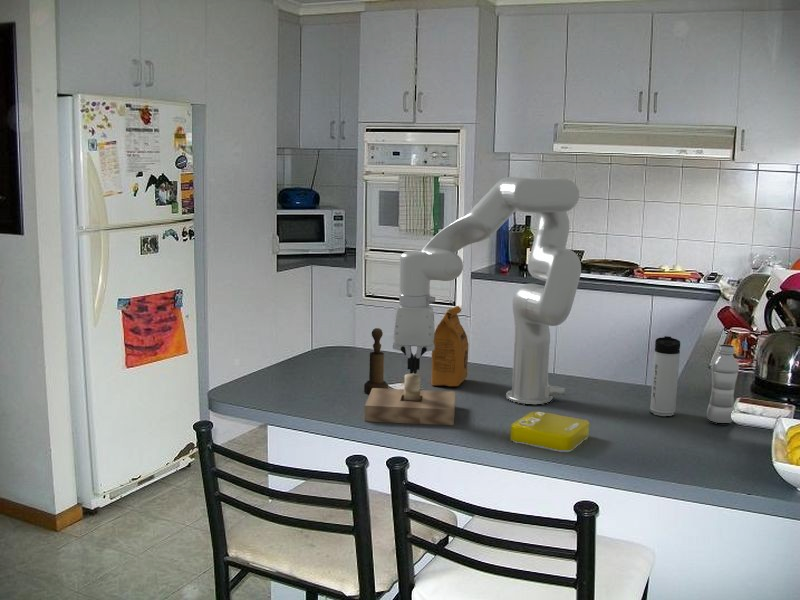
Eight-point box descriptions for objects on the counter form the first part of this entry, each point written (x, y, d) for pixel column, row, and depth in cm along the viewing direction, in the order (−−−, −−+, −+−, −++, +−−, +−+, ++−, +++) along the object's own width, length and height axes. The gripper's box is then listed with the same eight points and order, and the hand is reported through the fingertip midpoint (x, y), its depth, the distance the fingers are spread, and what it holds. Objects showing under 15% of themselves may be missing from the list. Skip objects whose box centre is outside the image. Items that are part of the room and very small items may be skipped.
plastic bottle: (700, 420, 222) (706, 344, 219) (721, 418, 225) (728, 342, 221) (717, 428, 216) (724, 349, 213) (739, 425, 219) (746, 348, 215)
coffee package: (472, 380, 256) (475, 306, 252) (458, 390, 245) (461, 313, 241) (441, 376, 260) (443, 303, 256) (425, 386, 249) (428, 310, 245)
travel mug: (674, 411, 230) (680, 337, 226) (675, 418, 224) (681, 342, 220) (649, 408, 231) (655, 335, 228) (649, 416, 225) (655, 340, 222)
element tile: (567, 456, 196) (569, 435, 195) (506, 443, 203) (507, 423, 203) (590, 438, 208) (592, 418, 207) (532, 426, 216) (533, 407, 215)
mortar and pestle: (389, 389, 244) (390, 326, 241) (386, 396, 238) (388, 331, 235) (365, 388, 245) (366, 325, 242) (362, 394, 238) (363, 330, 235)
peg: (420, 411, 225) (421, 373, 223) (419, 416, 220) (420, 378, 219) (404, 410, 225) (405, 373, 223) (403, 415, 221) (403, 377, 219)
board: (454, 406, 230) (455, 391, 229) (453, 425, 214) (454, 409, 213) (372, 402, 231) (372, 387, 231) (364, 421, 216) (364, 405, 215)
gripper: (444, 299, 221) (443, 369, 224) (386, 297, 222) (385, 367, 225) (443, 304, 213) (442, 377, 217) (383, 303, 215) (382, 375, 218)
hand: (413, 372), depth 221 cm, fingers closed
